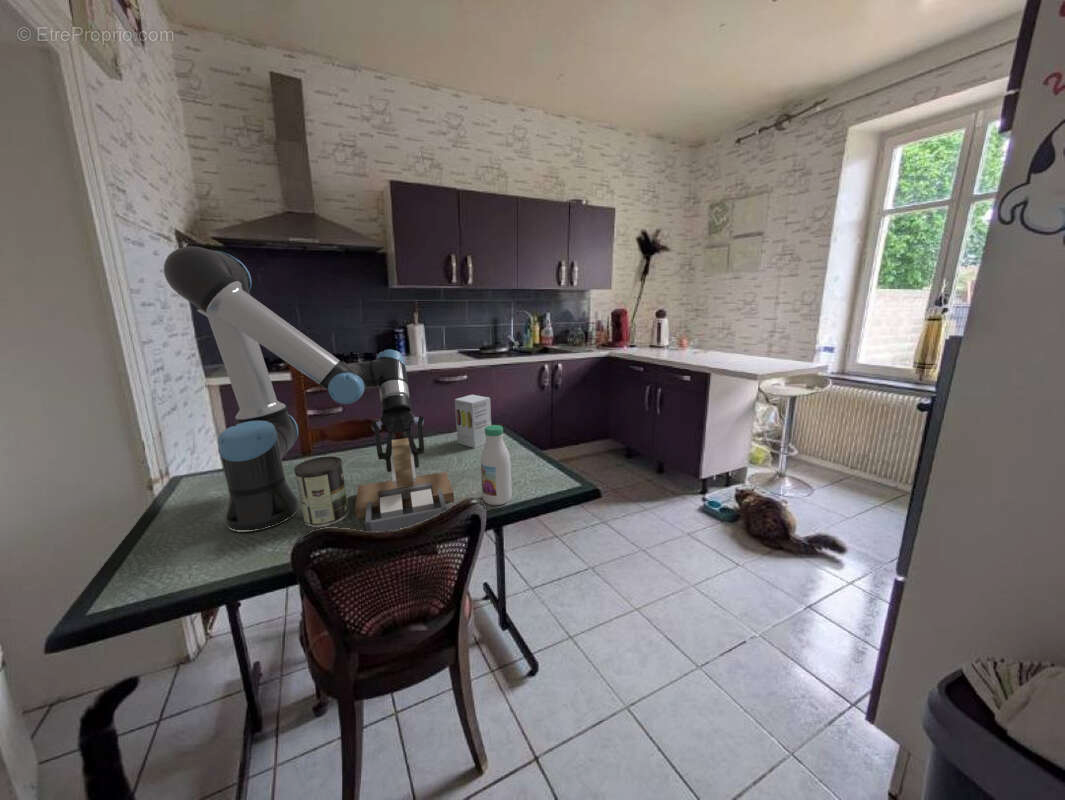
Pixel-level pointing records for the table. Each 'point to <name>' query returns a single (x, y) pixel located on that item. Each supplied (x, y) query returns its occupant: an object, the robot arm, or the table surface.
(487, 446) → the milk bottle
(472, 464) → the table surface
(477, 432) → the supplement box
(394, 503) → the tile left
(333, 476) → the coffee can
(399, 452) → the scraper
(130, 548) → the table surface
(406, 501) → the flat wooden board
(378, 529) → the tray
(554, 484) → the table surface
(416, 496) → the tile right
